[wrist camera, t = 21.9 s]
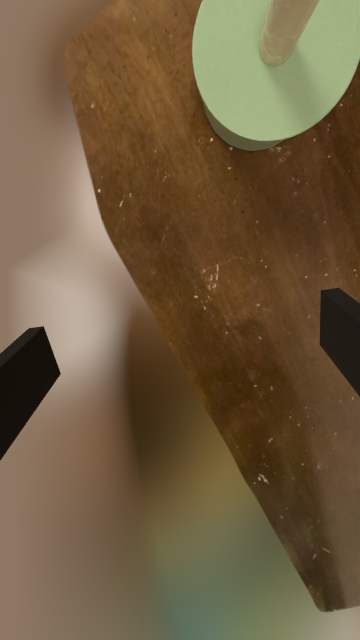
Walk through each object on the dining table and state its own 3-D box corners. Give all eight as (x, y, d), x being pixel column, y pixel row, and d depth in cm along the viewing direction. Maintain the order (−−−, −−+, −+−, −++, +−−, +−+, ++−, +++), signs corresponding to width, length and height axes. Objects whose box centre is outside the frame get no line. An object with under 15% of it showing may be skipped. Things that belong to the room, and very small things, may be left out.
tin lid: (202, 155, 28) (198, 132, 19) (182, -32, 24) (162, -185, 14) (355, 128, 26) (434, 88, 17) (362, -79, 22) (475, -289, 13)
